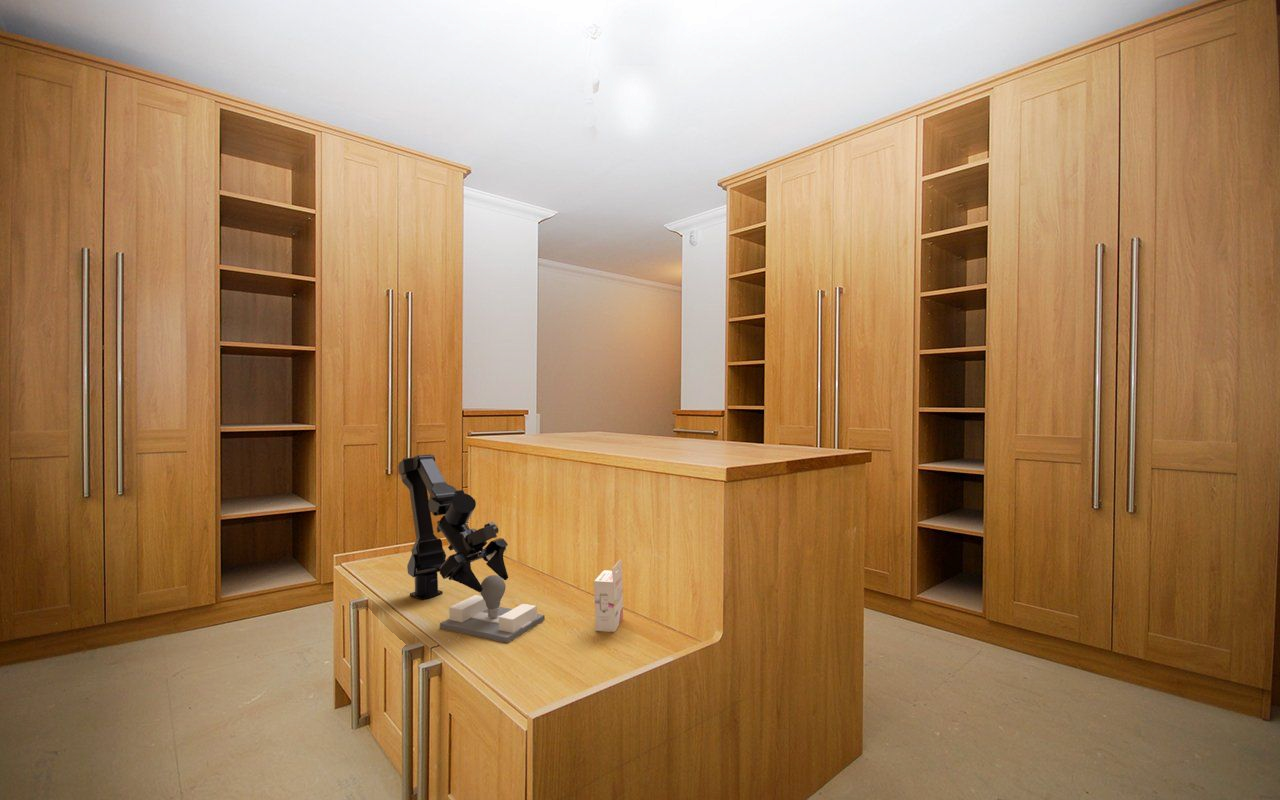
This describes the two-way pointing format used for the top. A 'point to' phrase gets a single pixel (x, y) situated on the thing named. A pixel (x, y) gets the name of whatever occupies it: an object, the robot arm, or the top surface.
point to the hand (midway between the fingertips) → (494, 584)
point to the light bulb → (493, 593)
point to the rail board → (491, 620)
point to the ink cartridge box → (609, 599)
